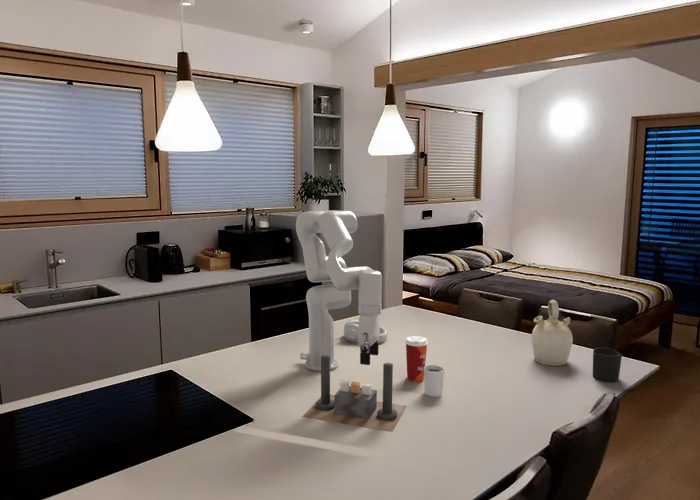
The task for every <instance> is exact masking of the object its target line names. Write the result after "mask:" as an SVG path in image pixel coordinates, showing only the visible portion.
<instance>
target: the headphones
mask: <svg viewBox="0 0 700 500" xmlns="http://www.w3.org/2000/svg"><path fill="white" fill-rule="evenodd" d="M343 326H344V327H343V335H344V337H345V338H346V340H347V341H350V342H352V343H358V326H359V319H350V320H348V321H347V322H346V323H345V324H344V325H343ZM387 339H388V331H387V329H386V328H385V327H383V326H381V325H380V332H379V338H378V340H379V342H378V343H377V344H382V343H384V342H385V341H386V340H387Z"/></svg>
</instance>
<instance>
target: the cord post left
mask: <svg viewBox="0 0 700 500" xmlns="http://www.w3.org/2000/svg"><path fill="white" fill-rule="evenodd" d="M330 394H331V370H330V356H329V355H323V356H321V371H320V397H321V399H320V400H319V399H317V401H316V402H315V403H316V408H317V409H319V410H325V411H326V410H332V409H334V400H332V399H330Z"/></svg>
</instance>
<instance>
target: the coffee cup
mask: <svg viewBox="0 0 700 500" xmlns="http://www.w3.org/2000/svg"><path fill="white" fill-rule="evenodd" d="M404 343H405V351H406V352H405V354H406V355H405V357H406V375H407V380H408V381H411V382H413V383H414V382H415V383H416V382H423V381H424V367H425V366H426V361H427V360H426V359H427V349H428V344H429V341H428V339H427V338H426V337H425V336H420V335H410V336H407V338H406V340H405V341H404Z"/></svg>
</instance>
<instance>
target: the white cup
mask: <svg viewBox="0 0 700 500" xmlns="http://www.w3.org/2000/svg"><path fill="white" fill-rule="evenodd" d="M444 374H445V367H443V366H441V365H438V364H427V365H425V367H424V380H423V381H424V382H423V384H424V387H423V388H424V395H426V396H429V397H433V398H434V397H443V390H444V389H443V388H444V376H445V375H444Z"/></svg>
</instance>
